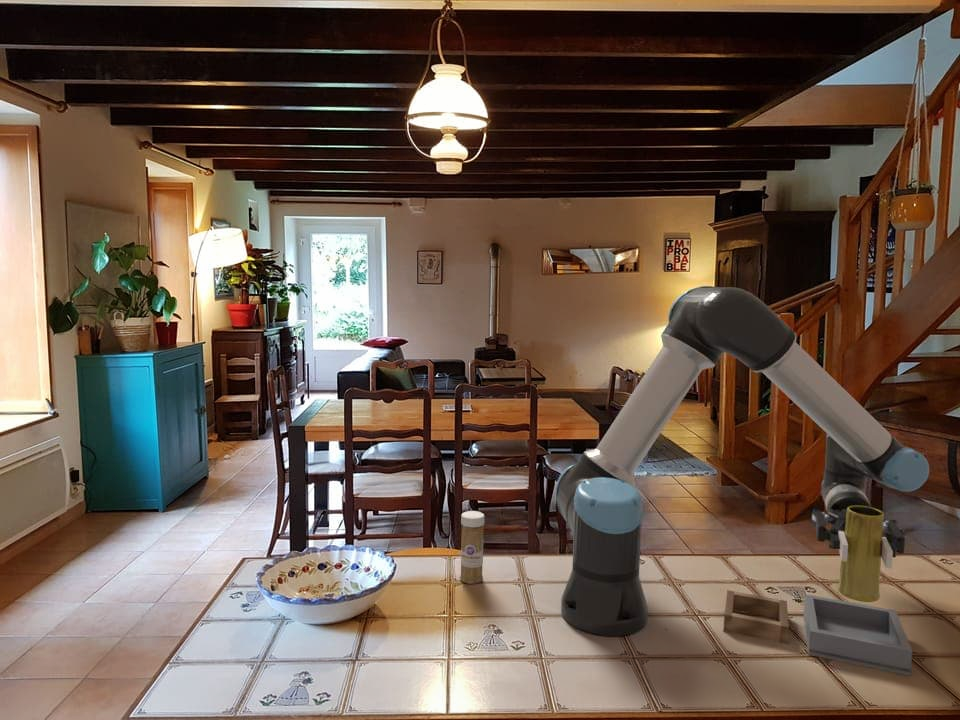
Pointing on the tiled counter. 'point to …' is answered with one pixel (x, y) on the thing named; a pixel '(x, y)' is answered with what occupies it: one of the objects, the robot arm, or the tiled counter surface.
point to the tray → (856, 634)
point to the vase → (862, 554)
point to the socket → (752, 624)
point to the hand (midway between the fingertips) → (866, 556)
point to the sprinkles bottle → (472, 547)
